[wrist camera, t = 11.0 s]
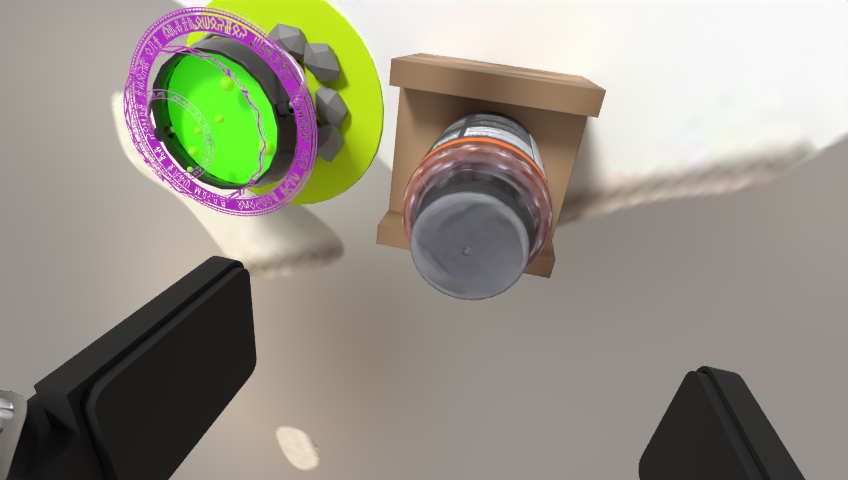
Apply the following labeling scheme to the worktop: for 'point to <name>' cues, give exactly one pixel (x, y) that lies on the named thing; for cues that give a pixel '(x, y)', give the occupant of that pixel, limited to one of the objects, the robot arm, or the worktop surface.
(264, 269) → the worktop surface
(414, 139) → the pedestal
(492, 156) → the supplement bottle
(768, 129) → the worktop surface
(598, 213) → the worktop surface
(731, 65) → the worktop surface
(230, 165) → the toy cauldron
